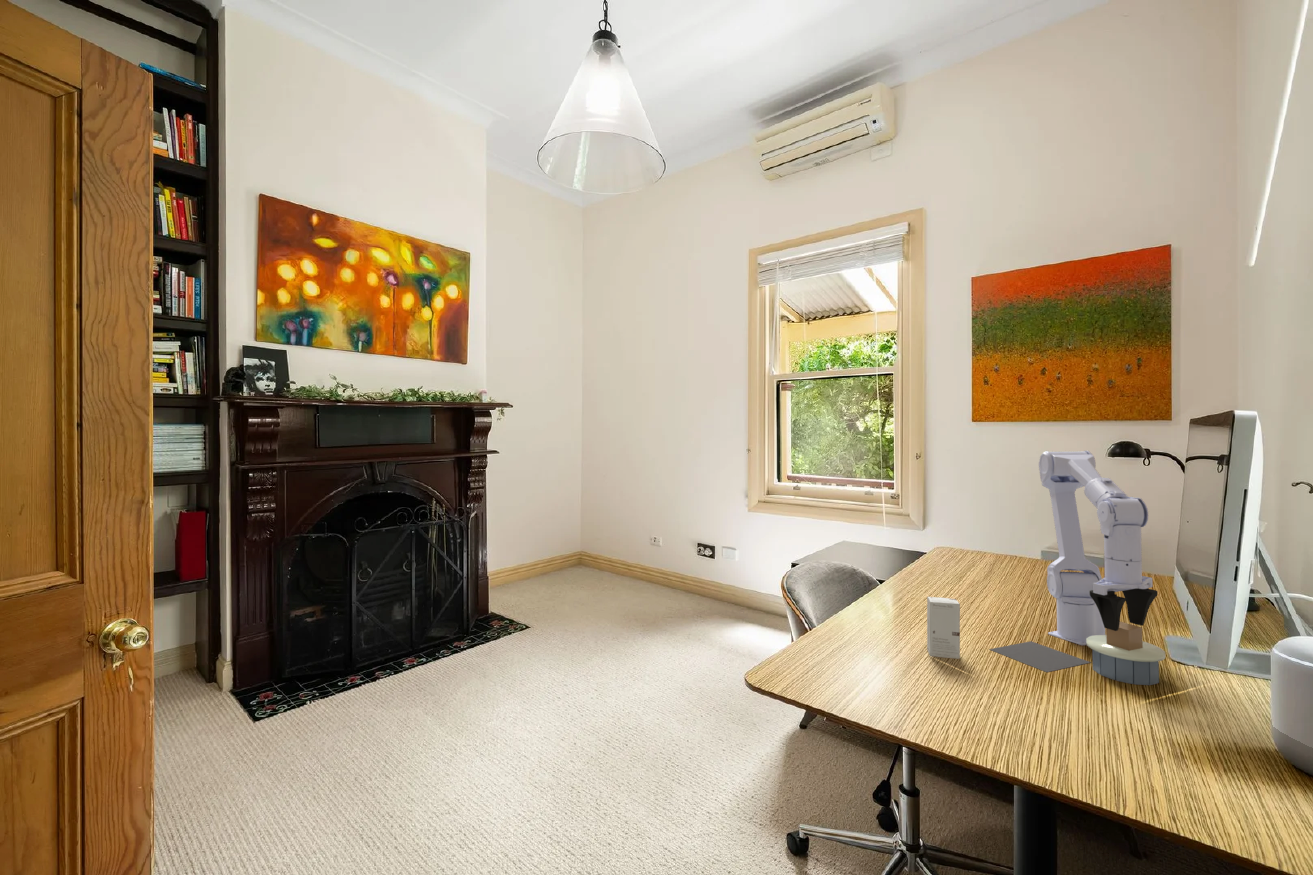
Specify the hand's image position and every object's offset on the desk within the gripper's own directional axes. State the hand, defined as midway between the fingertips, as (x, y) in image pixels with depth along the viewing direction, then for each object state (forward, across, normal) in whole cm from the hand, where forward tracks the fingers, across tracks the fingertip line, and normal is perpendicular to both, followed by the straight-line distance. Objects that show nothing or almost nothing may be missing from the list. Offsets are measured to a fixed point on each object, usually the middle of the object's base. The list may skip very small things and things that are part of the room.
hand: (1123, 626), depth 111 cm
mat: (+10, -7, +12) cm, 17 cm away
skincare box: (+10, -24, +21) cm, 34 cm away
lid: (+5, 0, 0) cm, 5 cm away
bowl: (+10, 0, 0) cm, 10 cm away
